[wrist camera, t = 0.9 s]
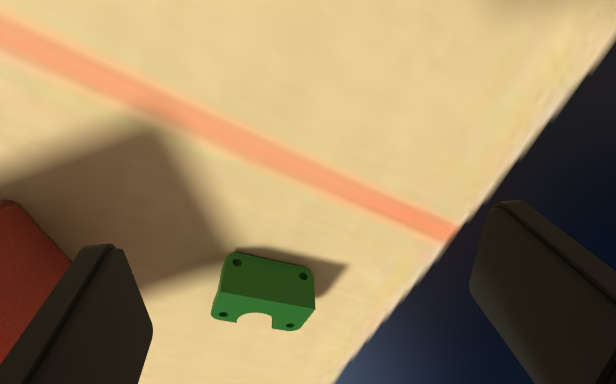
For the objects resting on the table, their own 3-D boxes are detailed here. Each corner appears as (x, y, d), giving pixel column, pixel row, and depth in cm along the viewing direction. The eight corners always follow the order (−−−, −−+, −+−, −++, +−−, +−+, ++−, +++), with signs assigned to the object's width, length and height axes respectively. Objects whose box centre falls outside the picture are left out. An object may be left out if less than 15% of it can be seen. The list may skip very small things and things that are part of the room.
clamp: (234, 259, 48) (195, 310, 41) (246, 232, 44) (205, 283, 37) (309, 303, 47) (283, 363, 40) (327, 280, 44) (302, 341, 36)
